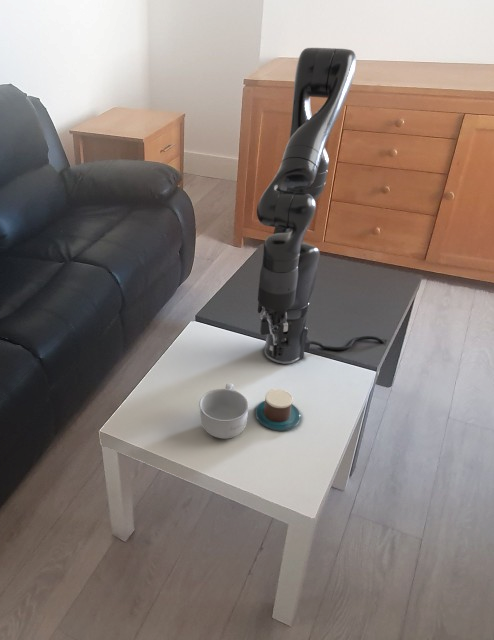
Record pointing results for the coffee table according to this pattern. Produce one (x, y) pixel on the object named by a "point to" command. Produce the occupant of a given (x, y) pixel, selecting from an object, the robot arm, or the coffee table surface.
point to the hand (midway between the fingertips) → (271, 344)
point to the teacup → (223, 412)
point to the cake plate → (278, 426)
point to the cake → (277, 405)
